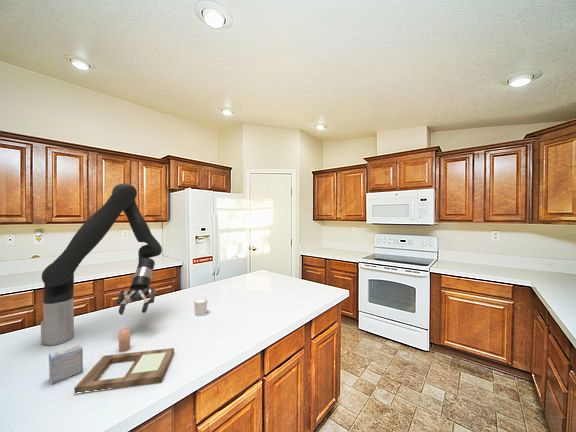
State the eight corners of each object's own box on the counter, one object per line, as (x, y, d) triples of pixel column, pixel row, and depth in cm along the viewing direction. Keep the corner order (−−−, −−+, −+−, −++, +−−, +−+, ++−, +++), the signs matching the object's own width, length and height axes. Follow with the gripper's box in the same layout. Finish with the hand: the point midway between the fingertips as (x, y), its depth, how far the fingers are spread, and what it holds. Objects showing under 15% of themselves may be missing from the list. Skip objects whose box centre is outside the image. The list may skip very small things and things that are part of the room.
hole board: (74, 394, 71) (74, 386, 71) (103, 361, 87) (103, 354, 87) (161, 382, 76) (161, 375, 76) (174, 353, 92) (174, 347, 92)
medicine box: (80, 366, 84) (80, 342, 83) (83, 372, 81) (83, 347, 80) (48, 379, 77) (48, 353, 77) (50, 385, 75) (50, 358, 74)
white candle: (193, 317, 123) (193, 303, 123) (194, 311, 129) (194, 298, 129) (206, 315, 125) (206, 302, 125) (207, 310, 131) (207, 297, 131)
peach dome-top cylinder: (116, 352, 92) (116, 333, 92) (121, 346, 96) (121, 328, 96) (127, 351, 93) (127, 332, 93) (131, 345, 97) (131, 327, 96)
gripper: (122, 276, 108) (110, 311, 97) (156, 274, 111) (148, 308, 100) (127, 283, 113) (116, 318, 102) (160, 282, 116) (152, 315, 105)
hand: (132, 313), depth 101 cm, fingers open, 8 cm apart
